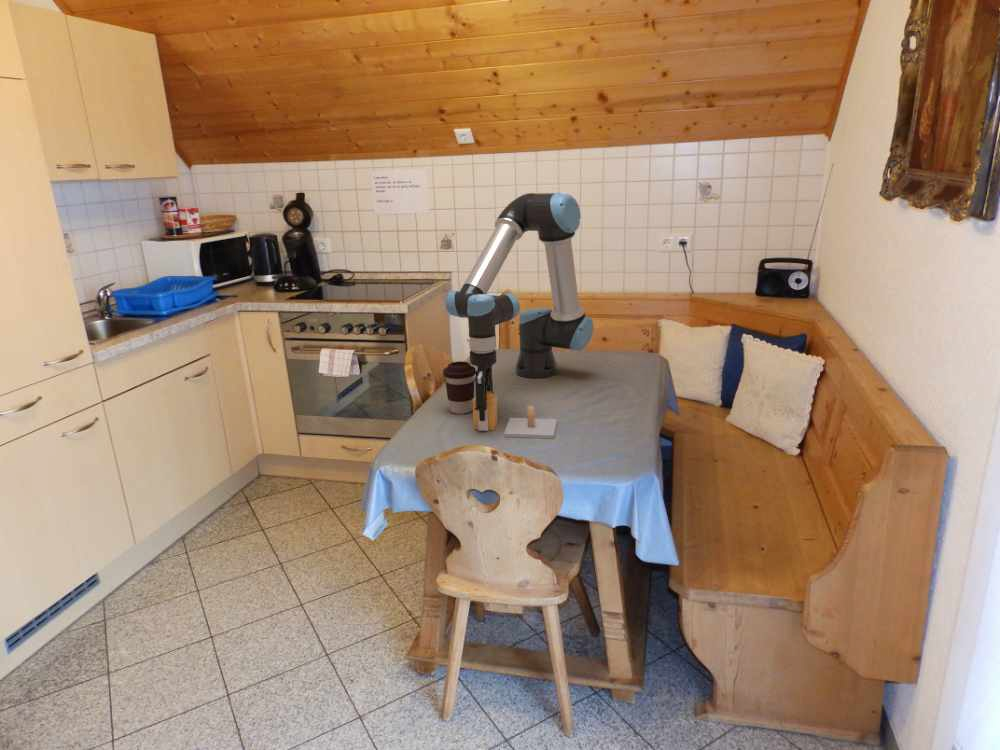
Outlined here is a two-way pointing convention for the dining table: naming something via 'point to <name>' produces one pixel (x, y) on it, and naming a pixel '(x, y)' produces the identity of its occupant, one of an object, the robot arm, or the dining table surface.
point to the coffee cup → (460, 386)
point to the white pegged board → (531, 426)
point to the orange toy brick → (491, 410)
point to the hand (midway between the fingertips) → (485, 425)
